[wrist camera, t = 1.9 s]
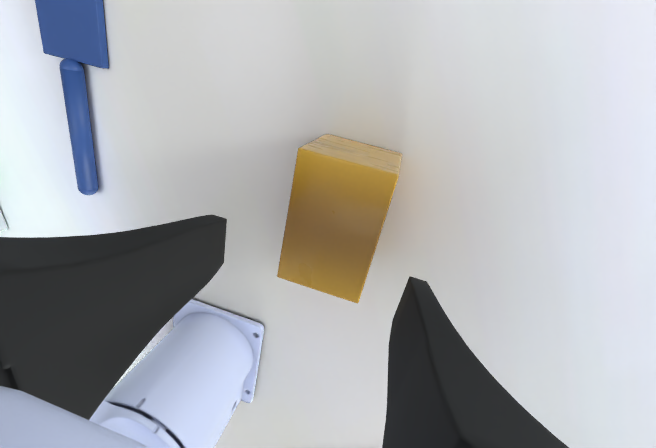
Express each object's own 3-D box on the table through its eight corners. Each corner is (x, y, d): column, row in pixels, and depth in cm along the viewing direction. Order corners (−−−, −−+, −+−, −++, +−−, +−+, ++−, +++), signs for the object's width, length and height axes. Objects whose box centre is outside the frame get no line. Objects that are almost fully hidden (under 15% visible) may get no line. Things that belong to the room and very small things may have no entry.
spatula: (121, 199, 24) (107, 205, 23) (72, 184, 24) (56, 188, 23) (99, -42, 17) (79, -50, 16) (34, -55, 18) (10, -64, 17)
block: (369, 257, 21) (358, 304, 16) (305, 237, 21) (276, 277, 17) (402, 153, 18) (399, 175, 13) (326, 133, 18) (297, 147, 14)
